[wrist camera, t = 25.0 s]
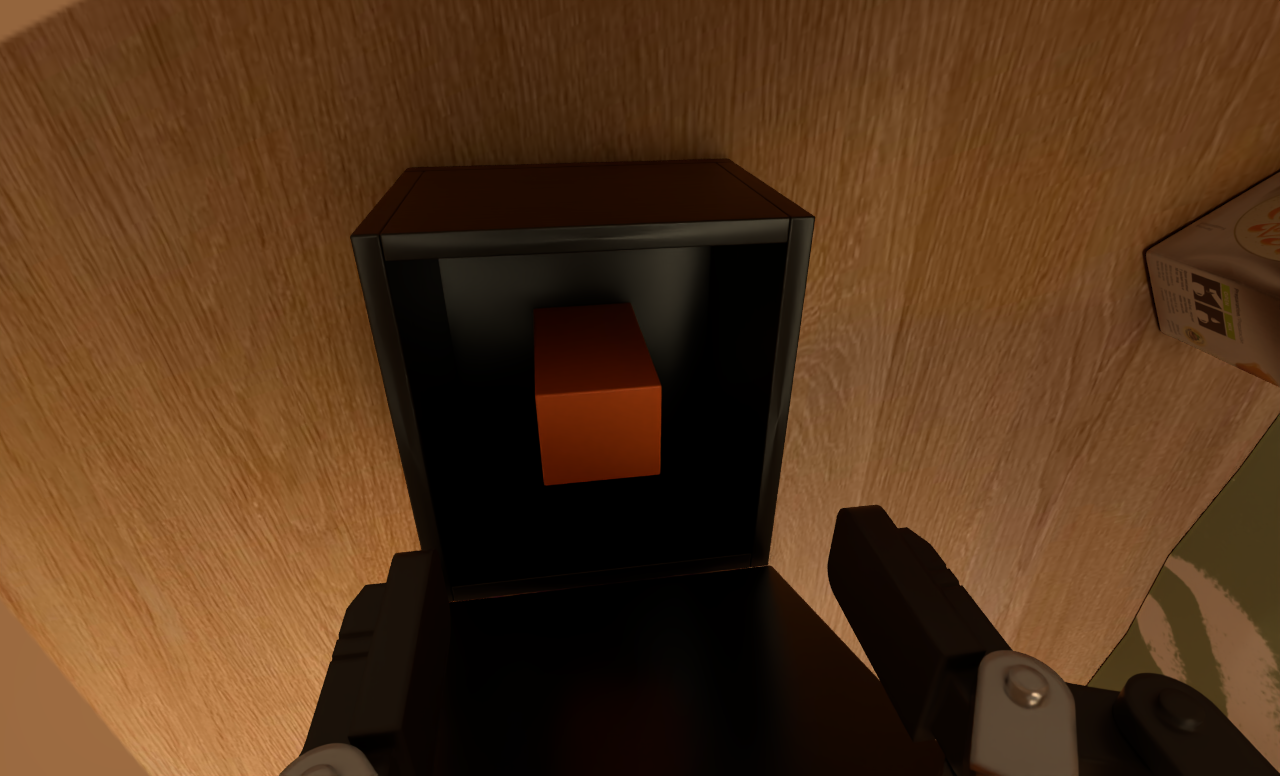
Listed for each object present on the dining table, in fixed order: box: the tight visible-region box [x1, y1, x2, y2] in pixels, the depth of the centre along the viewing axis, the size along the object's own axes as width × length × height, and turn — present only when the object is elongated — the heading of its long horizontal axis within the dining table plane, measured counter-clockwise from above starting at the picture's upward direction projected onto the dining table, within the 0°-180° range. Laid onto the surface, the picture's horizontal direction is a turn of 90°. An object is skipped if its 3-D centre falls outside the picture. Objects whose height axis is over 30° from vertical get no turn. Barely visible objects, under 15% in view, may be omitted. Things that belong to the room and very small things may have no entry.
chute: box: [350, 159, 815, 602], centre depth 26 cm, size 15×14×10 cm
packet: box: [533, 303, 662, 486], centre depth 27 cm, size 8×4×4 cm
